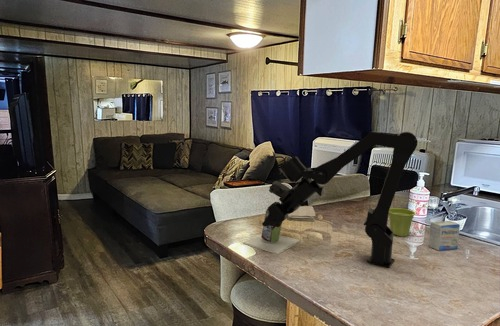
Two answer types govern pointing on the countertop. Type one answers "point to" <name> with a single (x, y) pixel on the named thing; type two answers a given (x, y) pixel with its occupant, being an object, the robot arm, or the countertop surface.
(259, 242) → the cream mat
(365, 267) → the countertop surface
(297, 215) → the washcloth
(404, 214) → the plant pot
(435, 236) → the medicine box
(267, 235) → the beverage can
